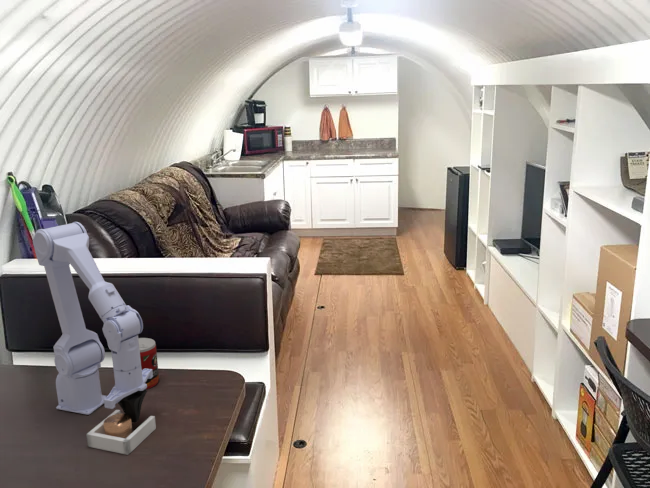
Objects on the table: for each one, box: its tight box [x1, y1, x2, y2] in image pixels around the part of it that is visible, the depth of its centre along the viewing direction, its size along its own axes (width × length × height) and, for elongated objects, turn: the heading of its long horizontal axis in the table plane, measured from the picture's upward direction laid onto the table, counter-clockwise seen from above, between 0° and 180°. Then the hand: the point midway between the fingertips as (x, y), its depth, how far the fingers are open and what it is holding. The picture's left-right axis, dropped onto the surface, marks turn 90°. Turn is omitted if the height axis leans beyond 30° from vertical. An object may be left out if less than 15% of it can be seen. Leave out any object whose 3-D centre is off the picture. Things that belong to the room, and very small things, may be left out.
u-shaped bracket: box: [85, 409, 157, 456], centre depth 123 cm, size 10×10×3 cm
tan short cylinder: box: [104, 413, 134, 439], centre depth 123 cm, size 6×6×4 cm
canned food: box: [138, 337, 160, 390], centre depth 145 cm, size 8×8×11 cm
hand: (133, 420), depth 127 cm, fingers closed
